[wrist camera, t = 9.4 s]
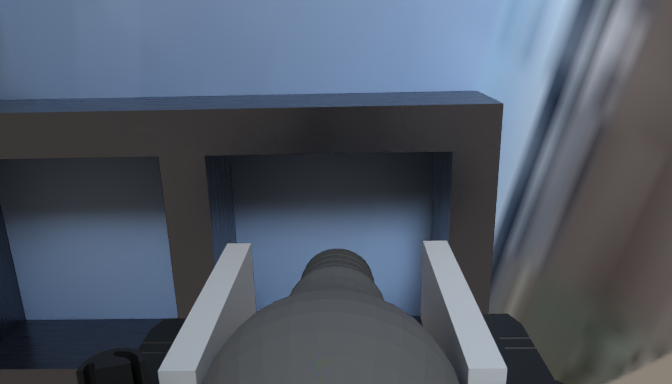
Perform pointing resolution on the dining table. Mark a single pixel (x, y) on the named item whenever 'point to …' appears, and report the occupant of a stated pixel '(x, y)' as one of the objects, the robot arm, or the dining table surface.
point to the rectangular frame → (216, 188)
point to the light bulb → (331, 335)
